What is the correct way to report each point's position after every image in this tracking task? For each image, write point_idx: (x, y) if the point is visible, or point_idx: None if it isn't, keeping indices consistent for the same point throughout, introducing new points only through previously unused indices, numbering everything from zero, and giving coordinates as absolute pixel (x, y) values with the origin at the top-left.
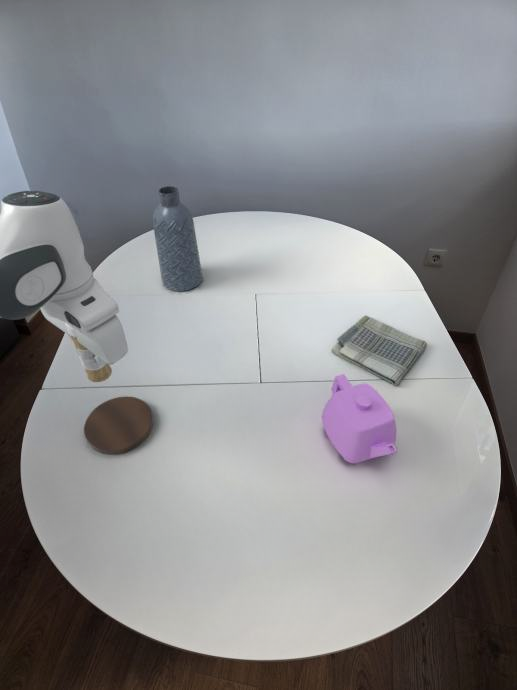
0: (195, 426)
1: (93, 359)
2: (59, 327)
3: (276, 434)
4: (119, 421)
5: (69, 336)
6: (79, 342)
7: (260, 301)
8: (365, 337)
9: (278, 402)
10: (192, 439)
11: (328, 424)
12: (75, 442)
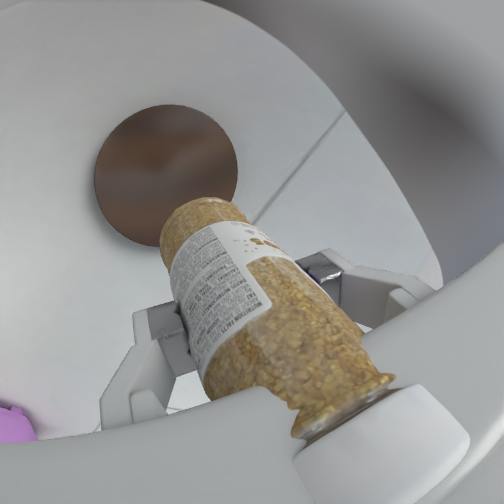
0: (83, 294)
1: (182, 309)
2: (469, 293)
3: (28, 372)
4: (166, 180)
5: (392, 280)
6: (256, 403)
7: None
8: None
9: (77, 396)
10: (60, 278)
11: (1, 429)
12: (190, 85)
